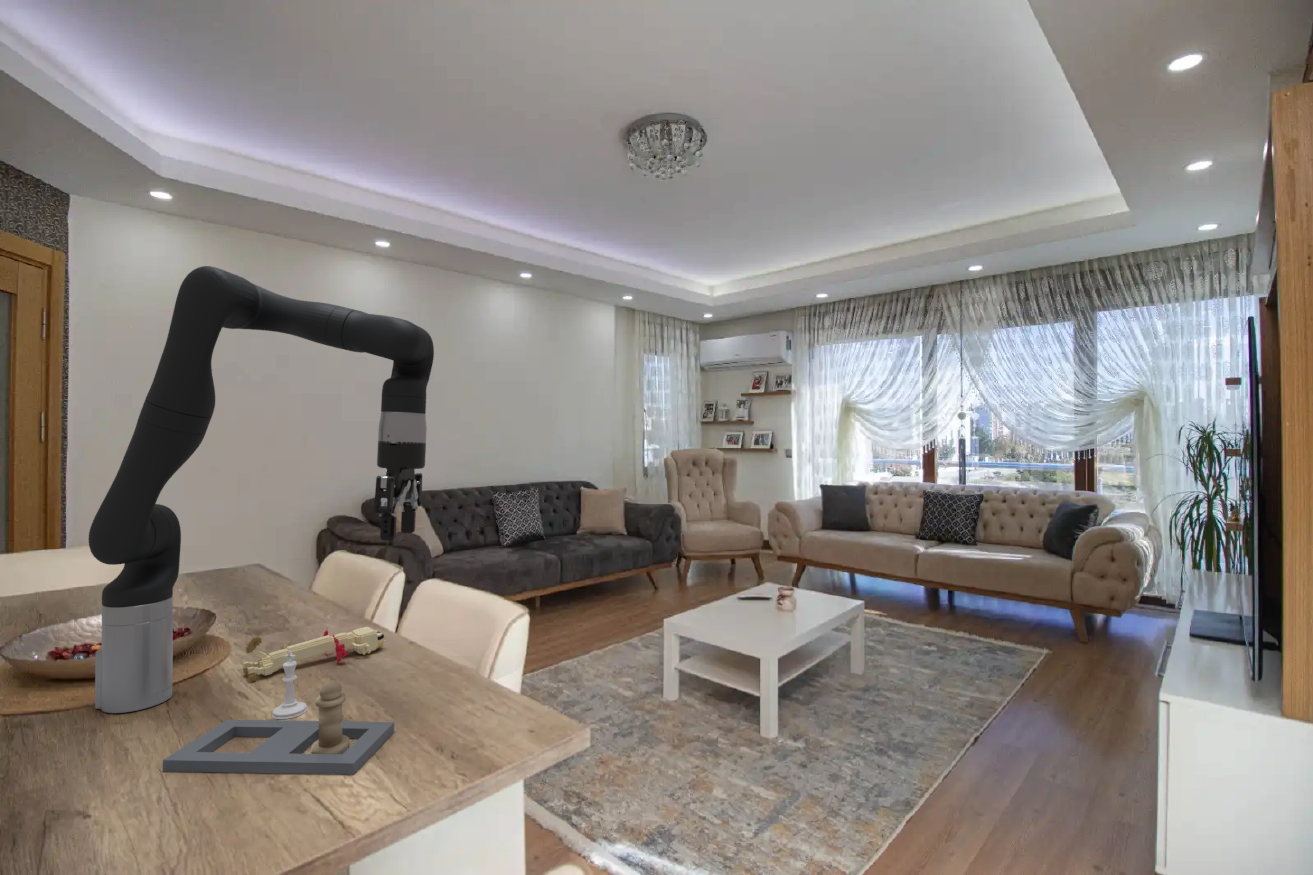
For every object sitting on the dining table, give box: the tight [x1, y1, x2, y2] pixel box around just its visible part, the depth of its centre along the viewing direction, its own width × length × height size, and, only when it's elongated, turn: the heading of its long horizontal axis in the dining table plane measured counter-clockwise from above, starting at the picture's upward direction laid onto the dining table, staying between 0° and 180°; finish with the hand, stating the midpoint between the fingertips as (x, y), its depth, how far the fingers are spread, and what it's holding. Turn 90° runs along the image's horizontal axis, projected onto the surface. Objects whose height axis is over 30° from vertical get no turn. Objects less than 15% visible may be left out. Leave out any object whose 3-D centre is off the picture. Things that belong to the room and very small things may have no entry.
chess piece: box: [271, 651, 308, 720], centre depth 101 cm, size 5×5×10 cm
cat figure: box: [242, 626, 387, 683], centre depth 123 cm, size 10×9×25 cm
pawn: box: [310, 680, 350, 754], centre depth 89 cm, size 5×5×10 cm
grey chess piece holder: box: [162, 719, 395, 776], centre depth 89 cm, size 26×12×2 cm, turn 89°
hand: (398, 536), depth 104 cm, fingers open, 8 cm apart
